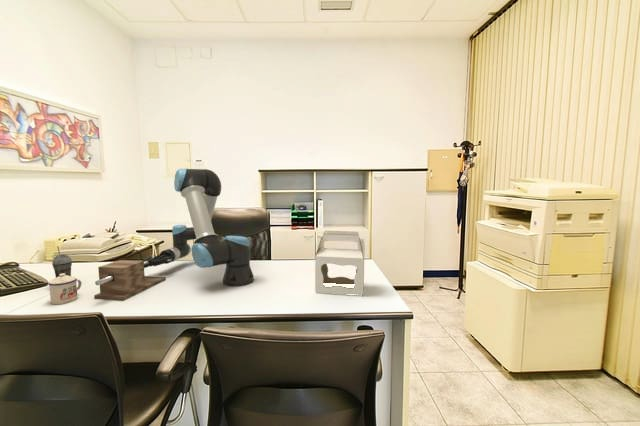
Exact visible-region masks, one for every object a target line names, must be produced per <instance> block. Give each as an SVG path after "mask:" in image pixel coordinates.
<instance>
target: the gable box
mask: <svg viewBox="0 0 640 426" xmlns="http://www.w3.org/2000/svg"><path fill="white" fill-rule="evenodd" d="M328 241H329V242H331V241H332V242H350V243H351V242H353V243H357V249H350V248H349V249H348V248H325V242H328ZM316 245H317V247H316V248H317V251H316V253H315V256H314V262H315V264H314V265H315V267H314V274H315V275H314V276H315V277H314V281H315V282H314V293H315V292H316V294H321V293H334V294H333V295H336V294H356V295H357V294H358V295H363V296H364V289H363V288H364V286H365V284H364V283H365V250H366V249H365V239H364V238H361V237H360V234H359V231H349V230H347V231H343V230H325V231H323V233H322V236H321V237H320V236H318V238H317V244H316ZM328 264H331V265H332V264H333V265H336V266H343V267H344V266H352V267H355V268H356V269H355V275H354V278H353V279H352V278H349V277H345V276H335V277H330V276H329V274H328V273H329V268H328ZM323 283H336V284H355V286H354V288H346V287H342V286H332V287H325V286H324V285H323Z"/></svg>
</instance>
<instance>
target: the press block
mask: <svg viewBox="0 0 640 426" xmlns="http://www.w3.org/2000/svg"><path fill="white" fill-rule="evenodd" d="M97 271H98V280H100V279H103V278H106V277H108V276H111V275H114V279H113V280H111V281H108V282H106V283H103V284H101V285H99V293H96V294H94V297H93V298H94V300H105V301H106V300H108V301H119V302H123V301H124V302H125V301H126V300H128V299H130V298H132V297H134V296H136V295H138V294H140V293H142V292H144V291H146V290H149V289H150V288H152V287H154V286H157V285H159V284H161V283H162V282H165V281H166V280H167V279H166V278H167V277H164V276H154V275H145V268H144V261H143V260H130V259H128V260H127V259H119V260H115V261H113V262H110V263H106V264H103V265H101V266H98V270H97Z"/></svg>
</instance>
